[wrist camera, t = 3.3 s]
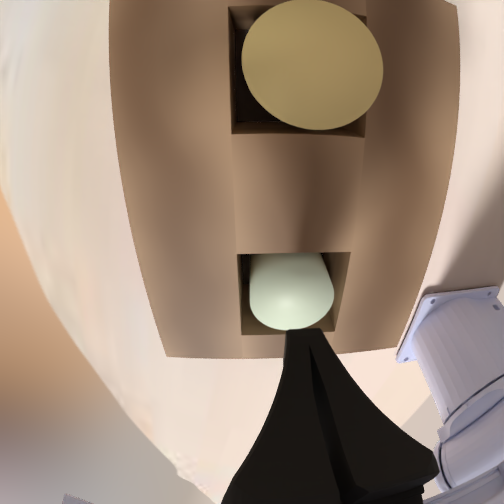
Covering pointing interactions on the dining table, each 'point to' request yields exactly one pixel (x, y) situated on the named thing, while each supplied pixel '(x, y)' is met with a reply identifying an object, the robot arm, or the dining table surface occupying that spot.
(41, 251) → the dining table surface
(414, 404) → the dining table surface
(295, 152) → the peg block
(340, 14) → the mustard peg
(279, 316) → the sage peg
